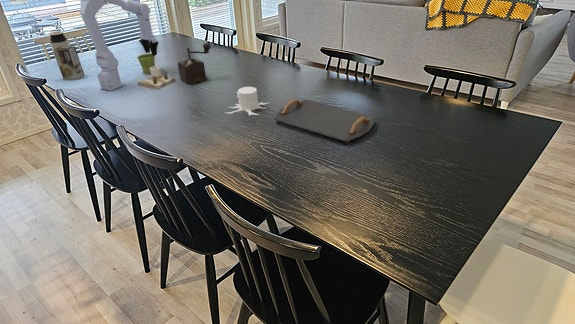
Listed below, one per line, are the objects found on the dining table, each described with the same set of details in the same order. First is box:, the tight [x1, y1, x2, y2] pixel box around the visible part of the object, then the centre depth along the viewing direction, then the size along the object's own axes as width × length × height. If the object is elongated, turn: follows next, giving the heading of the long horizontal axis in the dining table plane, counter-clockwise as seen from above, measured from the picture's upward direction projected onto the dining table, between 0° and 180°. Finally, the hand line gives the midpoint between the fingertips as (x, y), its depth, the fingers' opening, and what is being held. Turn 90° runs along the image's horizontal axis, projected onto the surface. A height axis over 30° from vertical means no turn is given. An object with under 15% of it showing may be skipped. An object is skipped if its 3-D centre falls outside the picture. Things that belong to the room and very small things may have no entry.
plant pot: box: [136, 53, 156, 74], centre depth 208 cm, size 9×9×9 cm
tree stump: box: [224, 86, 269, 116], centre depth 164 cm, size 20×19×8 cm
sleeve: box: [150, 65, 163, 79], centre depth 197 cm, size 5×5×5 cm
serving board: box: [273, 98, 375, 145], centre depth 149 cm, size 39×23×6 cm, turn 54°
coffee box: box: [52, 45, 86, 81], centre depth 202 cm, size 9×6×16 cm
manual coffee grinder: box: [177, 42, 212, 86], centre depth 193 cm, size 16×11×18 cm
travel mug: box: [48, 30, 69, 50], centre depth 225 cm, size 8×8×18 cm
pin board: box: [137, 71, 176, 90], centre depth 194 cm, size 13×13×5 cm
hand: (151, 53), depth 205 cm, fingers open, 7 cm apart
